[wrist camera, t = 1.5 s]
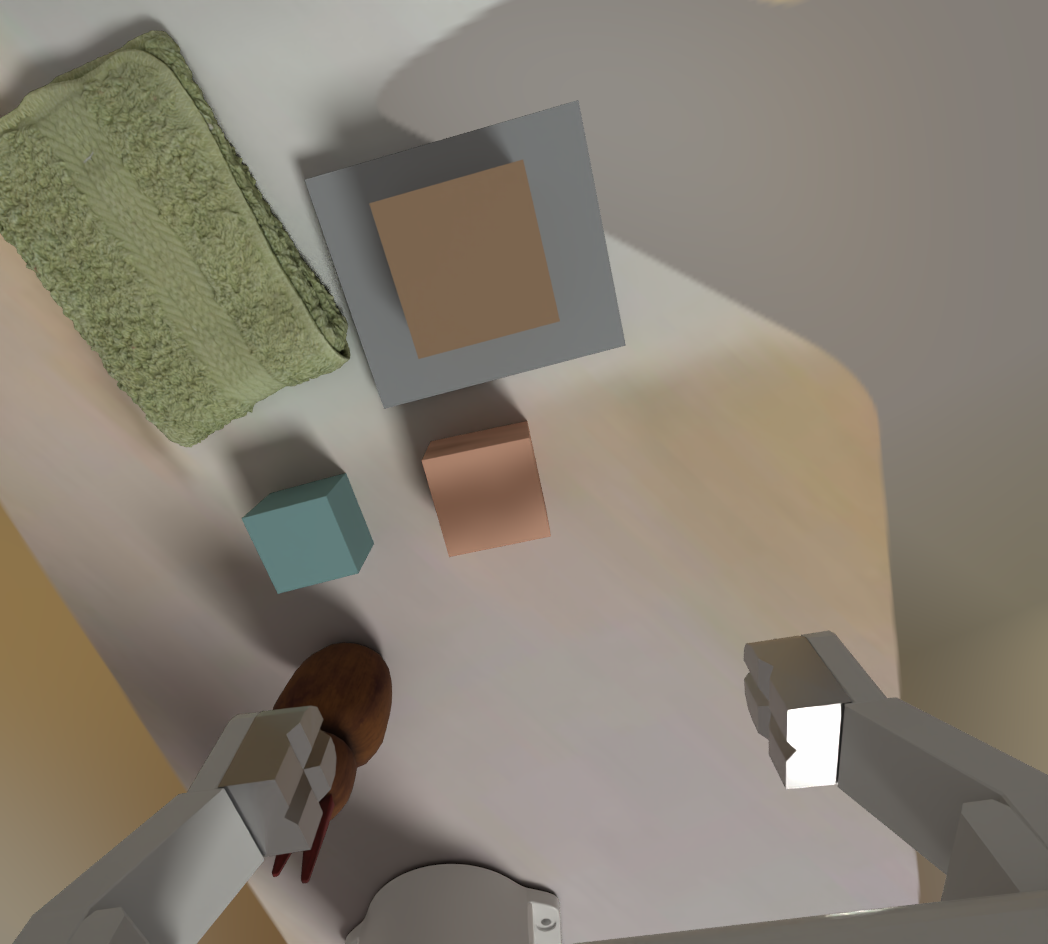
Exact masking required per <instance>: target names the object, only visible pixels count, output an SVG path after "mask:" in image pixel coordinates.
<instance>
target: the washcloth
mask: <svg viewBox="0 0 1048 944" xmlns="http://www.w3.org/2000/svg"><path fill="white" fill-rule="evenodd" d="M235 154H236V153H235V148H234V147H233V146H230V145H229V141H228V140H226V139H225V137H224V133H222V129H221V128H220V127H219V126H218V124H217V120H216V119H215V118H214V114H213V112H212V109H211V108H210V107H209V105H208V104H207V102H206V101H205V100H204V98H203V95H202V91H201V89H200V88H199V87H198V85H197V84H196V83H195V82H193V80H192V72H191V71H190V70H189V68H188V66H187V64H186V63H185V60H184V58H183V57H182V55H181V54H180V48H179V46H178V45H177V44H176V43H175V42H174V41H173V40H172V38H171V37H170V36H169V35H168V34H167V33H166V32H164V31H150V32H148V33H145V34H143V35H141V36H138V37H136V38H135V39H133V40H131V41H128V42H127V43H126V44H125V45H124V46H123V47H121V48H120V49H117V50H115V51H114V52H111V53H109V54H108V55H104V56H103V57H100V58H99V57H98V58H97V59H96V60H93V61H91V62H87V63H86V64H85V65H83V66H81V67H79V68H76V69H73V70H72V71H70V72H67V73H64V74H62V75H60V76H57V77H56V78H55V79H54V80H53V81H52V82H51V83H50V84H48V85H45V86H44V87H41V88H38V89H36V90H34V91H31V92H30V93H28V94H27V95H26V96H25V97H24V99H23V100H22V101H21V103H20V105H19V106H18V107H17V108H15V109H14V110H13V111H12V112H10V113H8V114H7V115H5V116H3V117H1V118H0V233H1V235H2V236H3V237H4V239H5V241H6V242H8V243H10V244H11V245H13V246H15V247H16V249H17V253H18V254H20V255H21V256H22V259H23V260H24V261H25V262H26V263H27V265H26V267H27V268H28V269H31V270H33V271H35V272H36V275H37V277H38V278H39V280H40V281H41V282H42V285H43V287H44V288H46V289H47V290H49V291H50V293H51V297H52V298H53V299H54V301H55V302H56V303H57V304H58V305H59V306H61V307H62V308H63V314H64V315H65V316H66V317H69V319H70V320H72V321H73V322H74V328H75V329H76V330H77V331H78V332H79V333H80V335H81V337H82V338H83V339H84V340H86V341H87V344H88V345H90V346H92V347H91V350H93V351H96V352H98V353H99V356H100V358H101V359H102V363H103V366H104V368H105V369H106V370H107V371H108V374H109V375H110V376H111V377H112V378H114V379H116V380H117V381H119V382H118V383H117V386H118V387H119V388H120V390H123V391H125V392H126V393H127V394H128V396H130V397H131V398H132V400H133V402H134V403H136V404H138V405H139V407H140V408H141V409H142V410H143V411H144V412H145V413H146V414H147V415H146V419H147V420H148V421H150V422H152V423H153V424H154V425H155V426H156V427H157V429H159V430H160V431H161V432H162V433H164V434H165V436H166V437H167V438H168V439H169V440H170V441H172V442H175V443H178V444H180V446H184V447H192V445H195V444H197V443H198V442H199V443H201V440H204V439H205V438H207V437H208V435H210V434H211V433H214V432H215V430H221V429H223V428H224V425H227V424H229V423H230V422H231V420H233V419H238V418H240V417H243V416H246V414H247V412H248V411H249V412H252V411H253V406H254V404H255V403H257V402H258V401H260V400H263V399H265V398H267V397H268V396H269V395H272V394H274V393H275V392H277V391H278V390H280V389H282V388H284V387H285V386H296V385H297V384H301V383H303V382H305V381H309V378H311V379H313V378H317V377H319V376H320V375H323V374H327V373H331V372H333V371H335V370H336V369H338V368H340V367H341V366H342V365H343V364H344V363H345V362H347V361H348V360H349V359H350V349H349V347H348V343H347V341H346V336H347V334H346V333H347V329H348V324H347V321H346V318H345V317H344V316H342V314H341V313H340V312H339V309H338V308H337V307H336V305H335V302H334V300H333V299H334V297H333V296H332V295H331V294H330V293H329V292H328V291H326V290H325V288H324V285H322V284H320V281H319V279H318V278H317V277H316V276H315V274H314V273H313V271H312V270H311V269H310V268H309V267H308V266H307V264H306V263H305V262H304V261H303V260H302V258H301V257H300V255H299V252H298V250H297V249H296V247H295V246H294V243H293V241H292V240H291V239H290V238H289V235H288V233H287V232H286V231H284V230H283V228H282V223H281V222H280V221H279V220H277V219H276V218H275V217H274V216H273V214H272V213H271V211H270V205H268V204H267V203H266V202H265V201H264V200H262V194H261V193H260V191H259V190H258V189H257V188H256V187H255V183H256V180H255V179H254V178H253V177H252V176H251V175H250V172H249V171H248V170H249V168H248V167H247V166H245V165H242V164H241V162H242V158H240V157H237V156H236V155H235Z"/></svg>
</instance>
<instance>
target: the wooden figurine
mask: <svg viewBox="0 0 1048 944" xmlns="http://www.w3.org/2000/svg"><path fill="white" fill-rule="evenodd" d="M391 704H392V682H391V677H390V672H389V668H388V666H387V664H386V662H385V661H384V660H383V659H382V657H381V656H380V655H379V654H378V653H377V652H375V651H373V650H372V649H370V648H368V647H365V646H362V645H359V644H355V643H337V644H331V645H329V646H327V647H326V648H324V649H322V650H320V651H318V652H316V653H314V654H312V655H311V656H310V657H309V658H308V659H306V660H305V661H304V662H303V663H302V664H301V666H300V667H299V668H298V669H297V670H296V671H295V673H294V675H293V676H292V678H291V679H290V681H289V682H288V684H287V685H286V687H285V688H284V690H283V692H282V693H281V695H280V696H279V698H278V700H277V702H276V703H275V705H274V707H273V710H277V709H286V708H294V707H303V706H315V707H317V708H318V710H319V712H320V714H321V716H322V718H323V722H322V724H321V727H320V730H322V731H323V732H325V733H326V734H328V735H329V736H331V738H332V741H333V743H334V746H335V752H336V771H335V777H334V780H333V783H332V787H331V790H330V791H329V792H328V793H327V794H326V795H325V796H324V797H323V798H322V799H321V800H320V801H319V805H320V807H321V809H322V812H323V814H322V817H321V820H320V823H319V826H318V829H317V832H316V835H315V838H314V841H313V844H312V847H311V850H305V851H303V861H302V873H301V881H302V883H307V882H308V881H309V880H310V877H311V874H312V871H313V868H314V865H315V863H316V860H317V857H318V854H319V851H320V848H321V845H322V842H323V840H324V837H325V834H326V831H327V828H328V825H329V822H330V820H332V819H333V818H334V817H335V816H336V815H337V814H338V813H339V812H340V810H341V809H342V808H343V807H344V805H345V804H346V803H347V801H348V799H349V797H350V794H351V792H352V789H353V785H354V781H355V776H356V771H357V767H360V766H362V765H364V764H366V763H367V762H368V761H369V760H370V759H371V758H372V756H373V755H374V754H375V753H376V752H377V750H378V749H379V747H380V746H381V744H382V742H383V739H384V735H385V732H386V728H387V724H388V719H389V715H390V710H391ZM290 855H291V853H286V854H280V855H276V858H275V862H274V866H273V870H272V874H273V877H277V876H278V875H279V874H280V872H281V871H282V869H283V867H284V865H285V864H286V862H287V860H288V859H289V857H290Z"/></svg>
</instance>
